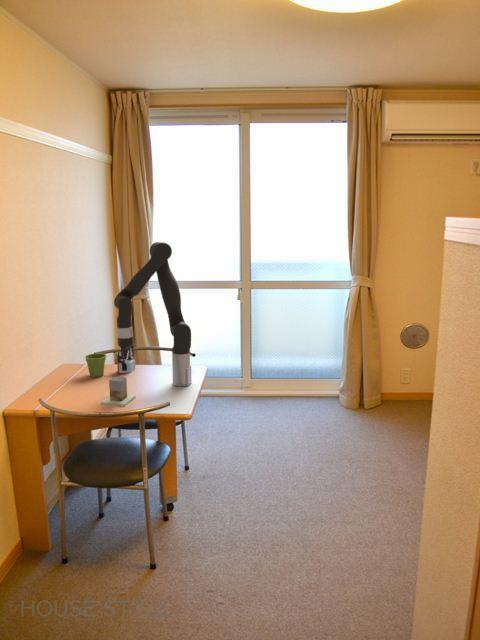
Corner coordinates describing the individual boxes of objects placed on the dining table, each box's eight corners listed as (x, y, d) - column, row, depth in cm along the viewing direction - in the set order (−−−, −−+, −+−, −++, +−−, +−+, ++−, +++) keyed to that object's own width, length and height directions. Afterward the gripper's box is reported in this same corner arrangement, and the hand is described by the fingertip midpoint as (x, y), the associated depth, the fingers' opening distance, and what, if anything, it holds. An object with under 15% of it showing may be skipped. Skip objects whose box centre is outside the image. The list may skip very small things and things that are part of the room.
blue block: (135, 369, 257) (134, 359, 256) (130, 373, 252) (130, 363, 251) (124, 368, 259) (123, 359, 257) (119, 372, 253) (118, 362, 252)
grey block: (126, 387, 247) (126, 377, 246) (121, 391, 241) (120, 381, 240) (115, 386, 248) (114, 376, 247) (109, 390, 242) (109, 380, 241)
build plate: (135, 397, 250) (135, 395, 250) (124, 406, 239) (124, 404, 238) (112, 395, 253) (112, 393, 253) (101, 404, 241) (101, 402, 241)
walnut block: (127, 397, 248) (126, 387, 247) (121, 401, 242) (121, 391, 241) (115, 396, 249) (115, 386, 248) (109, 400, 243) (109, 390, 242)
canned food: (121, 374, 285) (120, 355, 283) (115, 371, 291) (114, 352, 289) (134, 372, 290) (133, 353, 288) (127, 368, 296) (126, 350, 294)
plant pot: (109, 372, 289) (108, 353, 287) (105, 378, 278) (104, 358, 275) (88, 372, 289) (87, 353, 287) (82, 378, 277) (81, 358, 275)
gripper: (126, 339, 244) (128, 373, 247) (138, 332, 257) (140, 364, 261) (111, 339, 245) (113, 372, 249) (124, 332, 259) (126, 364, 263)
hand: (127, 368), depth 255 cm, fingers closed on blue block, 6 cm apart
